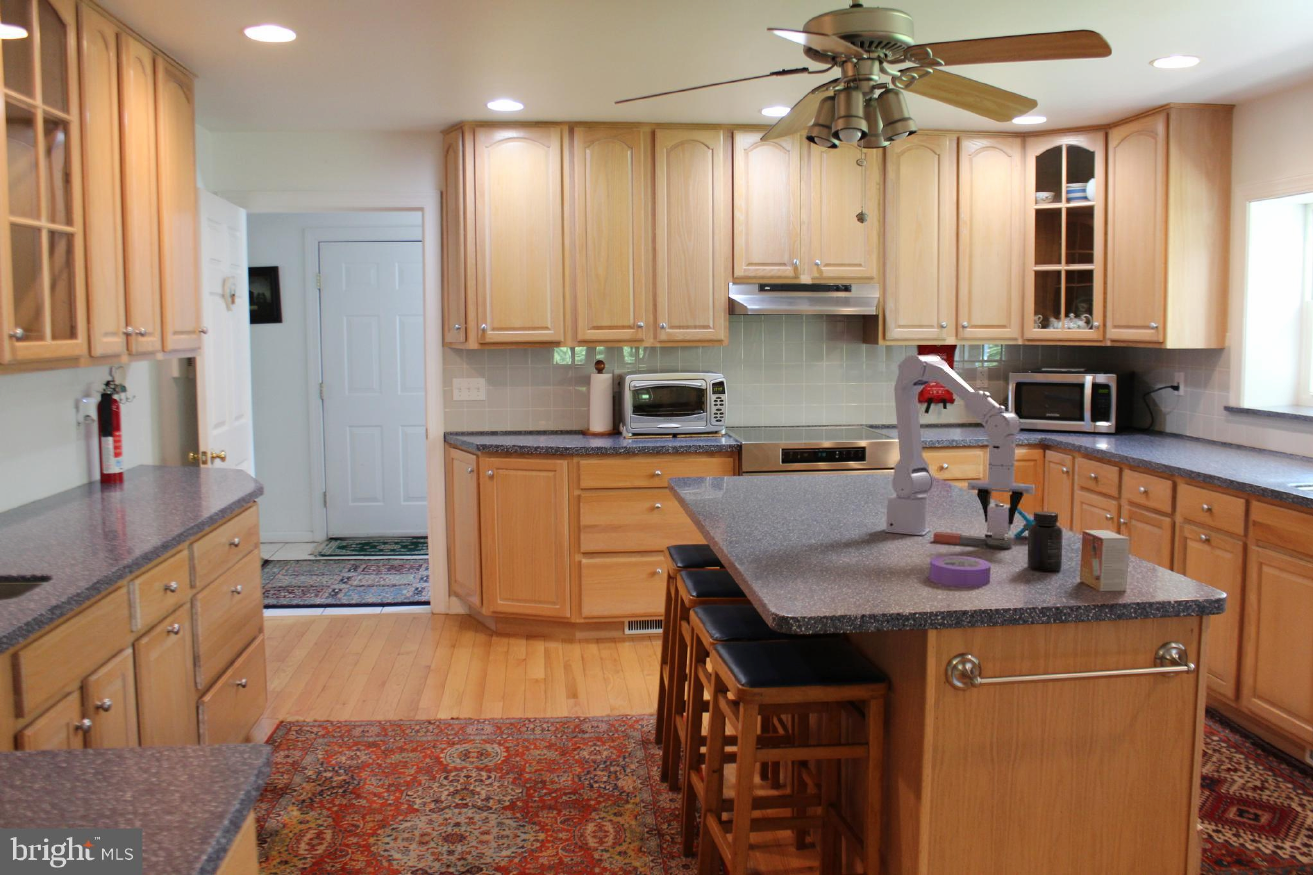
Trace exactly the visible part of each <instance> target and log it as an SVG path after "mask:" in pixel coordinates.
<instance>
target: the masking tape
mask: <svg viewBox="0 0 1313 875" xmlns="http://www.w3.org/2000/svg"><path fill="white" fill-rule="evenodd" d="M929 564H930V565H929V579H930V580H931V581H932V580H933V582H934V581H935V582H934V583H937V584H940V583H941V585H944V586H950V585H952V586H951V587H959V586H964V587H963V588H974V587H975V586H978V587H984V586H987V585H989V584H990V583H991V569H992V568H991V567H992V565H991V563H990V562H988V561H986V560H984V559H980V558H976V557H971V556H965V555H964V556H963V555H942V556H935V557H932V558H931V559H930V562H929ZM965 586H966V587H965ZM975 588H976V587H975Z"/></svg>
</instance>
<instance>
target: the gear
mask: <svg viewBox="0 0 1313 875" xmlns="http://www.w3.org/2000/svg"><path fill="white" fill-rule="evenodd" d="M1016 513H1017V514H1018V515H1019V516H1021V518H1022V520H1023V521H1025V523H1023V525H1022V528H1021V529H1020V530H1018V531H1017V532H1016V533H1015V534H1014V535H1013V536H1014V537H1015V538H1016V539H1019V537H1021V536H1023V534H1024V533H1025V532H1028V529H1029V527H1030V526H1031V525H1032V524H1034V523H1035V521H1033V519H1031V518H1030V517H1028V516H1027V514H1025V513H1024V512H1023V511H1022V510H1021V509H1020V507H1018V508H1017V510H1016Z"/></svg>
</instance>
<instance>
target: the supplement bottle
mask: <svg viewBox="0 0 1313 875" xmlns="http://www.w3.org/2000/svg"><path fill="white" fill-rule="evenodd" d="M1032 520H1033V521H1035V523H1034V524H1032V525H1031V526H1030V527H1029V529H1028V531H1027V564H1026V566H1027V567H1028V569H1030V570H1032V571H1036V572H1041V573H1042V572H1043V573H1046V572H1047V573H1056V572H1060V571H1061V570H1062V567H1063V566H1062V564H1063V535H1064V533H1063V532H1064V531H1063V528H1062V527H1061V526H1059V524H1058V523H1059V513H1058V512H1055V511H1047V510H1046V511H1045V510H1044V511H1043V510H1040V511H1039V510H1038V511H1034V512H1033V519H1032Z"/></svg>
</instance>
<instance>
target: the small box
mask: <svg viewBox="0 0 1313 875" xmlns="http://www.w3.org/2000/svg"><path fill="white" fill-rule="evenodd" d="M1130 540H1131V538H1130V537H1127V536H1123V535H1121V534H1118V533H1116V532H1113V531H1111V530H1109V529H1101V530H1100V529H1099V530H1097V529H1096V530H1095V529H1093V530H1091V529H1087V530H1086V529H1085V530H1084V529H1083V530H1082V537H1081V550H1080V551H1081V554H1080V567H1079V568H1080V569H1079V570H1080V571H1079V581H1080V582H1081V583H1084V584H1086V585H1088V586H1090V587H1092V588H1094V589H1095V590H1097V591H1099V592H1125V591H1127V587H1128V574H1129V560H1130V557H1129V556H1130V544H1131V543H1130V542H1131V541H1130Z"/></svg>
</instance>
